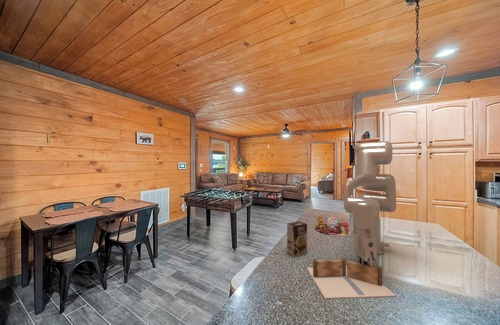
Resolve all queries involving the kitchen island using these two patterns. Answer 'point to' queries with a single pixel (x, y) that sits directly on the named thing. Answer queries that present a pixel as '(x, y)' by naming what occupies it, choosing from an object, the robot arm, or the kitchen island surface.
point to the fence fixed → (329, 268)
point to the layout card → (348, 287)
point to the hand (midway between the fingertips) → (363, 273)
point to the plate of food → (332, 226)
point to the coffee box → (297, 238)
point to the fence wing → (364, 272)
